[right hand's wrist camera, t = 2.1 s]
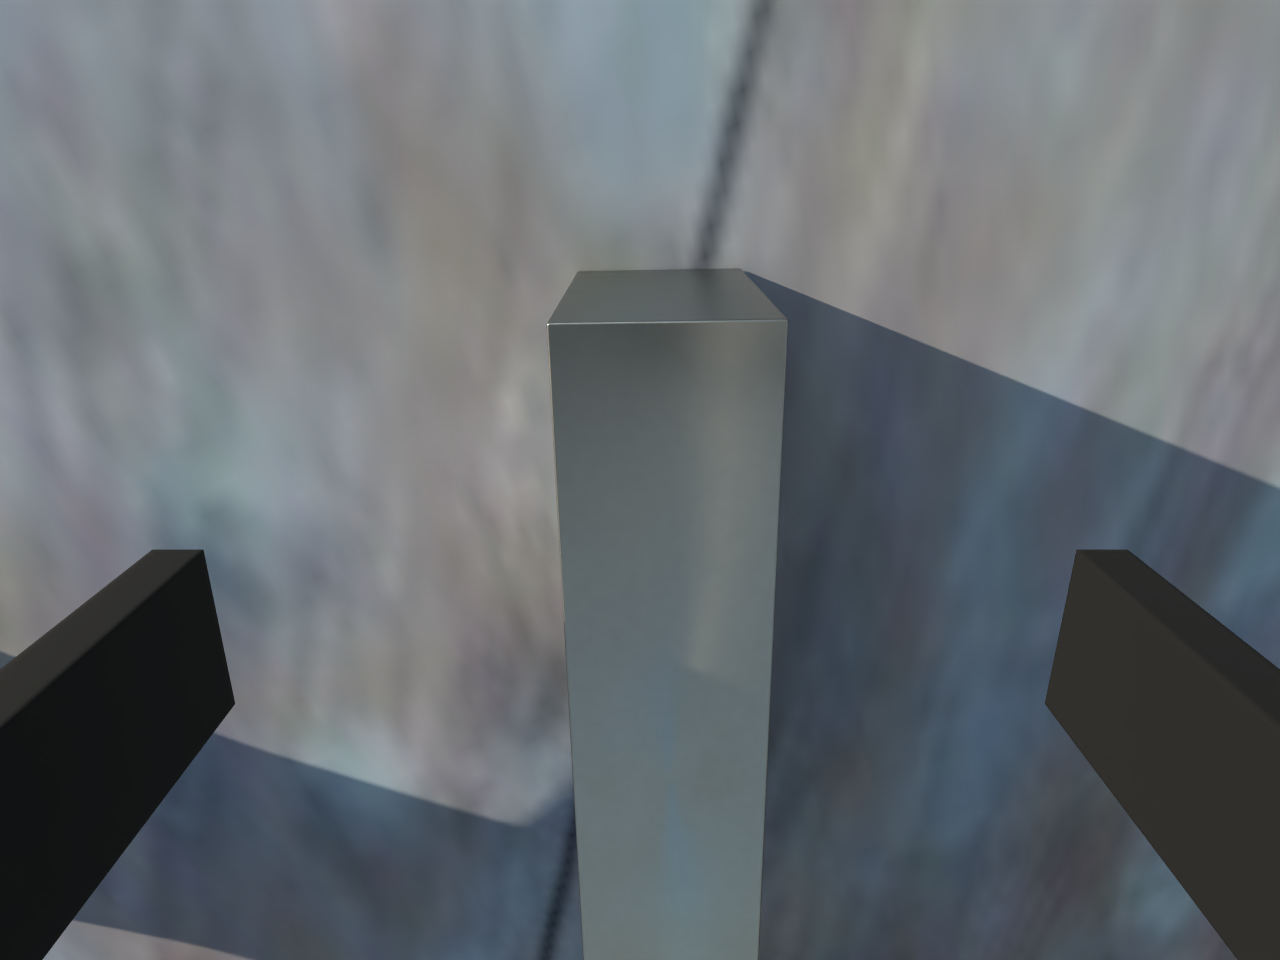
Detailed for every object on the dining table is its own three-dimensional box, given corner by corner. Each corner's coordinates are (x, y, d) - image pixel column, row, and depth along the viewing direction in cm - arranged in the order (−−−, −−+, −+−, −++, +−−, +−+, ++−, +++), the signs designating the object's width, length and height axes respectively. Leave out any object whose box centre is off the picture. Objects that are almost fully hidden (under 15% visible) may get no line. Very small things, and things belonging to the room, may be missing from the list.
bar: (577, 271, 26) (546, 323, 18) (741, 268, 26) (788, 319, 18) (602, 858, 35) (590, 1081, 27) (726, 857, 35) (753, 1079, 27)
